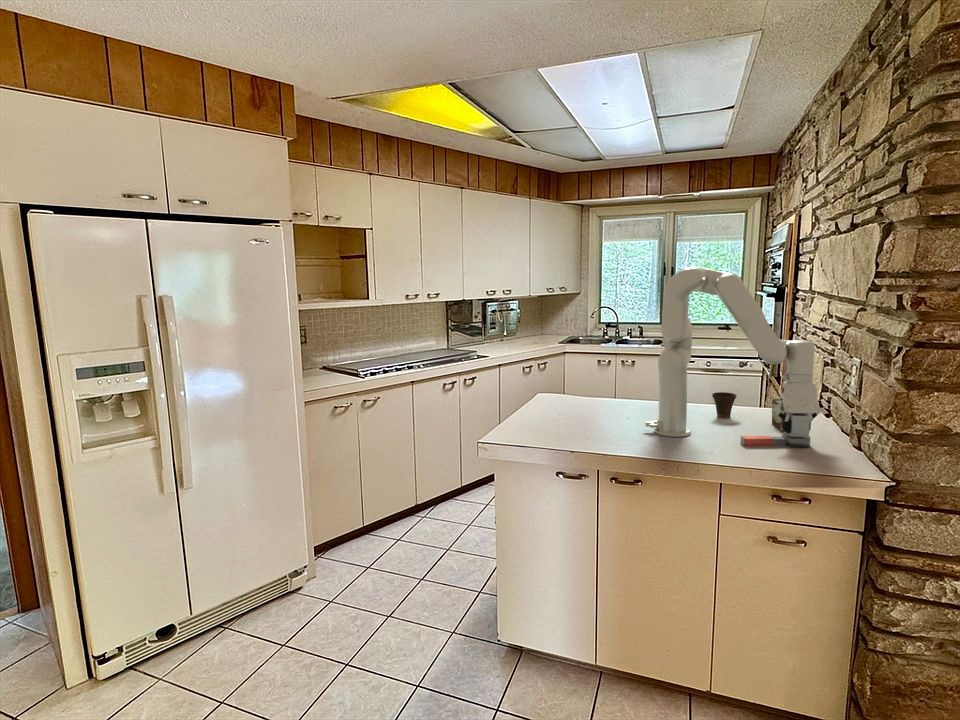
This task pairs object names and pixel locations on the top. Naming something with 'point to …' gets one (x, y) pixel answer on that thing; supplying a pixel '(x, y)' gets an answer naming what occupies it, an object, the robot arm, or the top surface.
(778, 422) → the food container
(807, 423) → the square aluminium tube
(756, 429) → the top surface
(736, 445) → the top surface
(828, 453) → the top surface
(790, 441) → the ratchet
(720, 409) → the cup
